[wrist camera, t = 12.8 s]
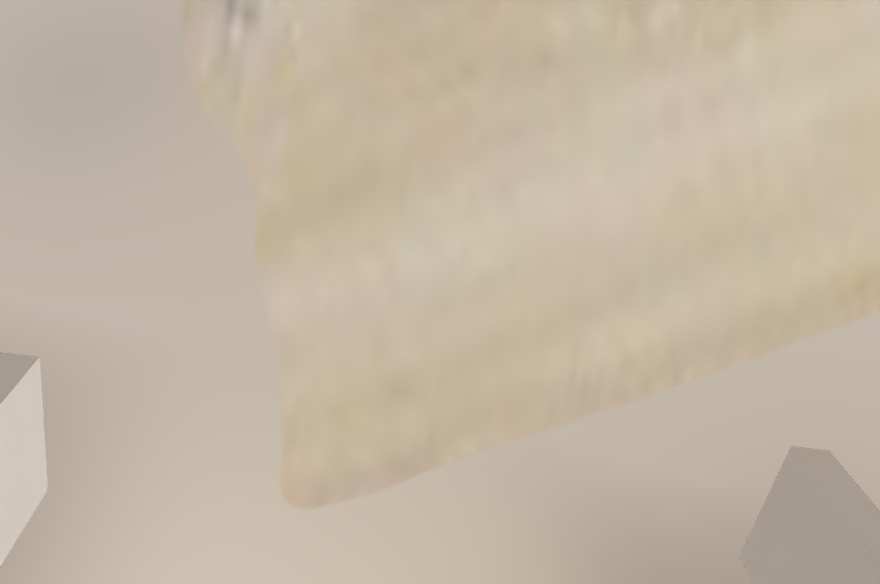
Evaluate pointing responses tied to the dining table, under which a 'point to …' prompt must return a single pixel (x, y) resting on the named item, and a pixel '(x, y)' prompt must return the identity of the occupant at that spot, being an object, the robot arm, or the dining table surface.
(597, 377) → the dining table surface
